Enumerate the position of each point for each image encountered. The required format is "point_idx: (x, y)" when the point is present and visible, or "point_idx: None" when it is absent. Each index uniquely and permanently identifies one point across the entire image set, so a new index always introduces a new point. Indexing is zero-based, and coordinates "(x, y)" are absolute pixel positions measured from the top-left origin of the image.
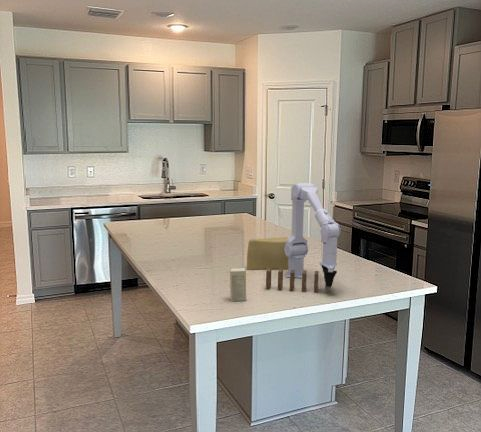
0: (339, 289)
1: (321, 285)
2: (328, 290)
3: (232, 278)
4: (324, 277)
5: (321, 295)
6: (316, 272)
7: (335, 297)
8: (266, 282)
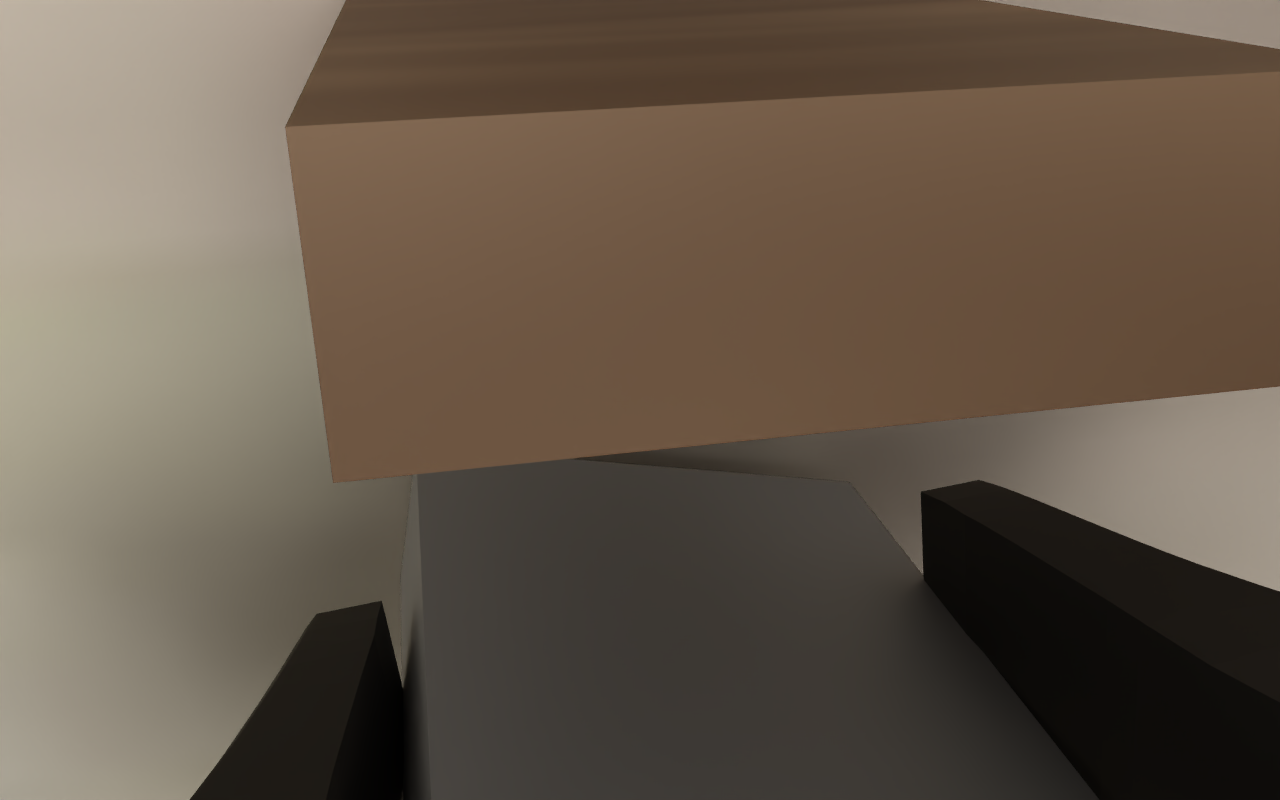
0: None
1: None
2: (404, 581)
3: None
4: (1030, 557)
5: (111, 321)
6: (884, 262)
7: (83, 765)
8: None
